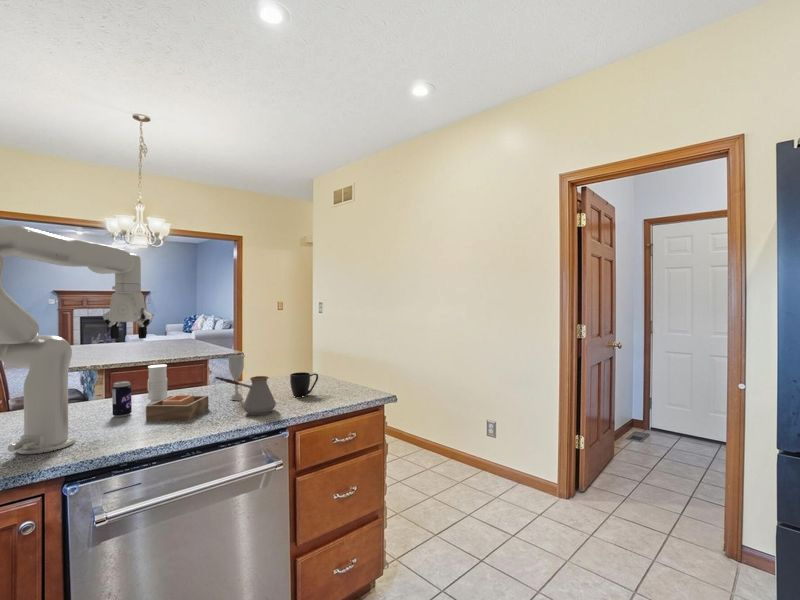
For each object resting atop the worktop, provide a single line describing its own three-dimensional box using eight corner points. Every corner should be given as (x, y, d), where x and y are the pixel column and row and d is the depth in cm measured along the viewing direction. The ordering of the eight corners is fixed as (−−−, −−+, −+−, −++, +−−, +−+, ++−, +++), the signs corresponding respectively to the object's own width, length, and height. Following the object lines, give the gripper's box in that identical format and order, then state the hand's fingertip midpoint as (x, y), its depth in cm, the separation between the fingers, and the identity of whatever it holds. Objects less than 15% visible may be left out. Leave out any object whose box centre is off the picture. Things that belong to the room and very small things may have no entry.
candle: (145, 403, 164) (145, 366, 164) (164, 399, 170) (163, 364, 170) (150, 406, 160) (150, 367, 160) (170, 402, 165) (169, 365, 165)
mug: (321, 395, 175) (320, 373, 175) (293, 399, 169) (293, 376, 169) (315, 392, 182) (315, 370, 182) (288, 395, 176) (288, 373, 176)
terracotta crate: (180, 415, 143) (180, 401, 143) (162, 415, 143) (162, 401, 143) (194, 408, 152) (193, 394, 152) (176, 408, 152) (176, 395, 152)
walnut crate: (188, 420, 140) (188, 405, 140) (146, 420, 140) (146, 406, 140) (208, 408, 155) (208, 395, 155) (170, 409, 155) (170, 396, 155)
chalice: (245, 400, 167) (245, 356, 167) (227, 402, 165) (227, 357, 165) (245, 396, 174) (244, 354, 174) (227, 398, 172) (227, 355, 172)
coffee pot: (269, 406, 157) (269, 368, 157) (280, 413, 148) (280, 372, 148) (210, 416, 145) (209, 374, 145) (217, 424, 135) (217, 379, 135)
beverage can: (121, 418, 143) (121, 384, 143) (108, 417, 145) (108, 383, 145) (135, 413, 149) (135, 381, 149) (122, 413, 150) (122, 380, 150)
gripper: (95, 289, 138) (95, 339, 138) (146, 288, 138) (146, 339, 138) (111, 289, 145) (111, 337, 146) (159, 289, 145) (159, 337, 145)
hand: (128, 338), depth 142 cm, fingers open, 9 cm apart
